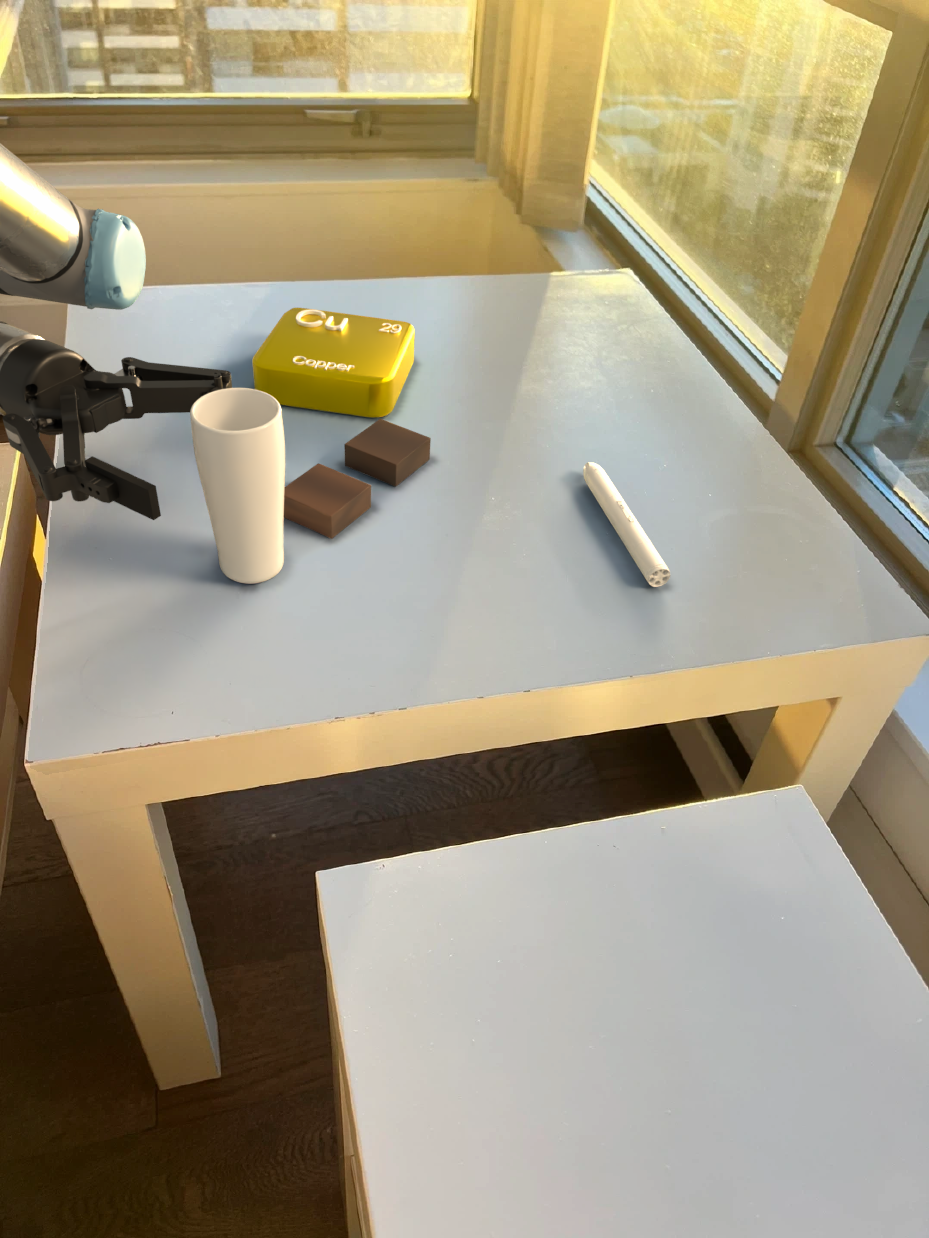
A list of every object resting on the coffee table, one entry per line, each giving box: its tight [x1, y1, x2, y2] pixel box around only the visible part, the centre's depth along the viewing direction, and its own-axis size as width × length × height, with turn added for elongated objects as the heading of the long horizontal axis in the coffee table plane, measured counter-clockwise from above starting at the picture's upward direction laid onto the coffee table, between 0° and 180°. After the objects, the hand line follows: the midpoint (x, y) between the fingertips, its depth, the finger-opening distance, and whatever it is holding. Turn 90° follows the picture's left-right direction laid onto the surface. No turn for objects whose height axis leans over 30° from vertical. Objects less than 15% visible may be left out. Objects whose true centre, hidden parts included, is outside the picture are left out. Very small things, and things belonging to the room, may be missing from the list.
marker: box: [582, 461, 671, 588], centre depth 88 cm, size 18×2×2 cm, turn 15°
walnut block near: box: [284, 463, 372, 540], centre depth 87 cm, size 6×6×2 cm
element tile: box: [251, 307, 416, 419], centre depth 104 cm, size 15×15×5 cm
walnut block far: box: [344, 418, 432, 488], centre depth 93 cm, size 6×6×2 cm
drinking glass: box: [189, 387, 286, 585], centre depth 76 cm, size 7×7×15 cm
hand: (218, 463), depth 75 cm, fingers open, 13 cm apart
